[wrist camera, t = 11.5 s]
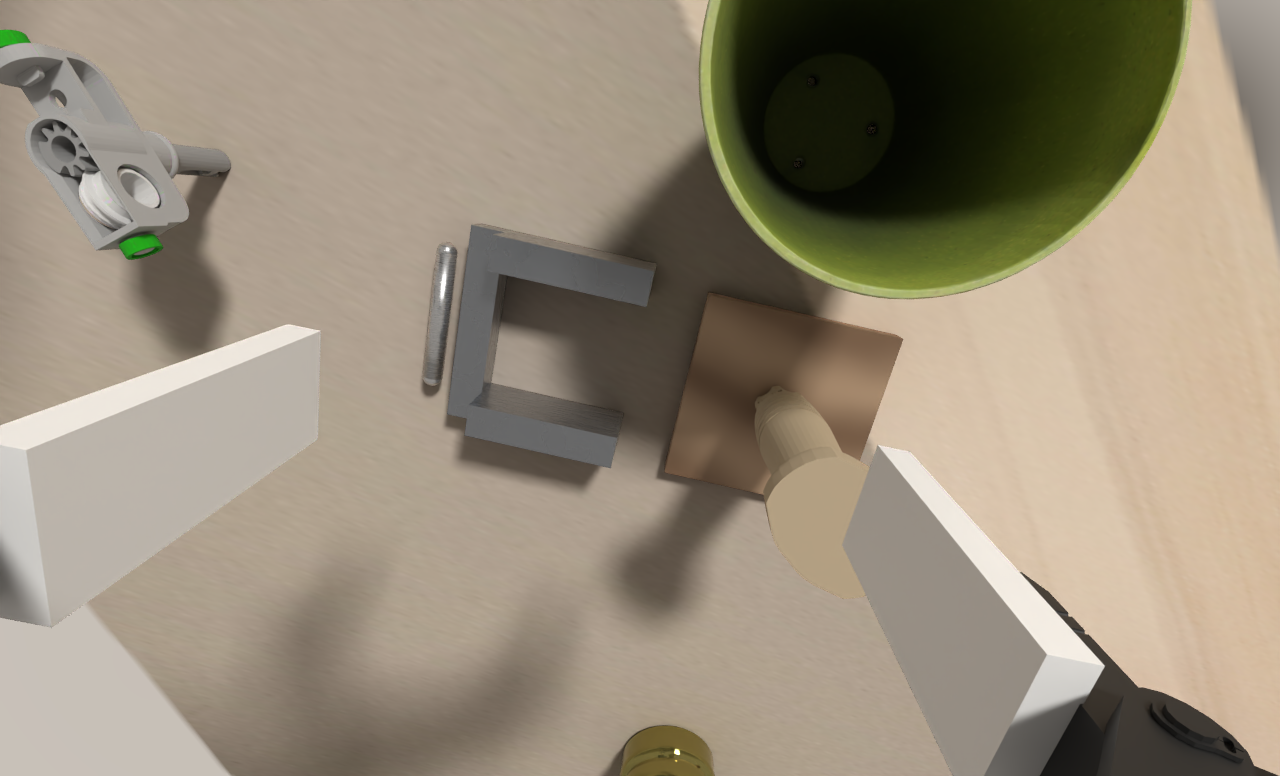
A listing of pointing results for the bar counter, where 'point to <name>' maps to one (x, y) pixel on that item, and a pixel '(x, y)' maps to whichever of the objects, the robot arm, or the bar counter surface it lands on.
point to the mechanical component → (100, 149)
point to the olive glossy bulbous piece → (666, 754)
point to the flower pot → (932, 128)
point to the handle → (808, 490)
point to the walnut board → (755, 362)
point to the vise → (471, 391)
